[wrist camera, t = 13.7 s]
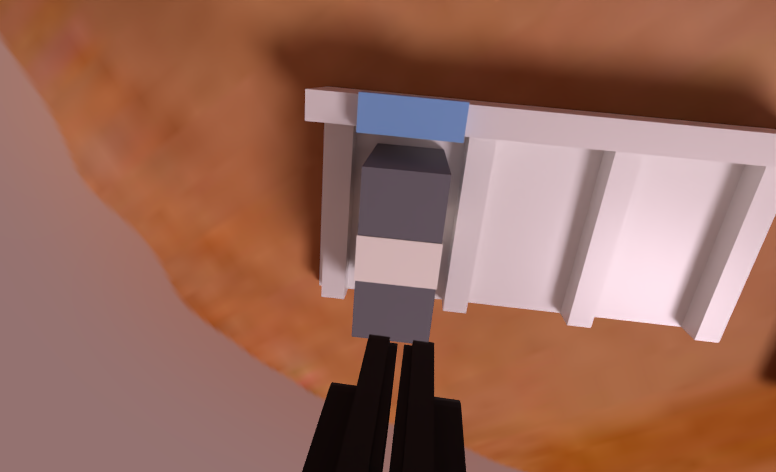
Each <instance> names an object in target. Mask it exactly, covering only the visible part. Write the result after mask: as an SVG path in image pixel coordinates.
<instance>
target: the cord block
mask: <svg viewBox="0 0 776 472" xmlns="http://www.w3.org/2000/svg"><path fill="white" fill-rule="evenodd" d="M450 182H451V172H450V168H449V165H448V161H447V158H446V154H445V151H444V149H435V148H424V147H414V146H403V145H392V144H382V143H377V145H376V146H375V148H374V149H373V151H372V152H371V154H370V155H369V157H368V158H367V160H366V161H365V162H364V164H363V165H362V172H361V189H360V206H359V223H358V233H357V237H356V254H355V272H354V281H355V291H354V308H353V325H352V337H361V338H369V335H370V334H372V335H380V336H387V337H390V341H396V342H405V343H413V340H417V341H425V342H429V335H430V327H431V320H432V313H433V306H434V298H435V291H436V290H437V285H438V278H439V270H440V263H441V256H442V249H443V233H444V226H445V218H446V211H447V204H448V196H449V189H450Z"/></svg>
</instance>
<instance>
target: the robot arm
mask: <svg viewBox="0 0 776 472" xmlns="http://www.w3.org/2000/svg"><path fill="white" fill-rule="evenodd" d="M396 354H397V344H396V343H390V337H387V336H380V335H372V334H370V335H369V338H368V342H367V346H366V350H365V354H364V358H363V362H362V366H361V371H360V375H359V379H358V383H357V386H354V385H347V384H340V383H333V382H332V383H331V385H330V388H329V391H328V394H327V397H326V400H325V403H324V406H323V409H322V412H321V415H320V418H319V422H318V424H317V428H316V431H315V434H314V437H313V440H312V443H311V446H310V449H309V452H308V455H307V459H306V461H305V464H304V467H303V471H302V472H382V471H383V463H384V455H385V448H386V440H387V432H388V424H389V415H390V406H391V398H392V389H393V380H394V371H395V362H396ZM389 472H466V464H465V451H464V438H463V425H462V412H461V403H460V400H454V399H446V398H439V397H434V343H432V342H425V341H417V340H413V344H412V346H411V345H404V351H403V359H402V367H401V376H400V384H399V392H398V400H397V409H396V417H395V425H394V434H393V443H392V453H391V461H390V471H389Z"/></svg>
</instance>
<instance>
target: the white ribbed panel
mask: <svg viewBox="0 0 776 472" xmlns="http://www.w3.org/2000/svg"><path fill="white" fill-rule="evenodd" d="M305 121H312V122H322V123H324V149H323V181H322V213H321V245H320V276H319V285H322V296H321V297H330V298H339V299H344V298H345V295H346V292H347V289H348V288H349V289H355V281H354V272H355V254H356V237H357V233H358V223H359V206H360V189H361V172H362V165H363V164H364V162H365V161H366V160H367V158H368V157H369V155H370V154H371V152H372V151H373V149H374V148H375V146H376V145H377V143H382V144H392V145H403V146H414V147H424V148H435V149H444V151H445V154H446V158H447V161H448V165H449V168H450V172H451V182H450V189H449V196H448V204H447V211H446V218H445V226H444V233H443V249H442V256H441V263H440V270H439V278H438V285H437V290H436V291H435V298H436V299H442V306H443V311H450V312H459V313H466V310H467V305H468V302H470V303H479V304H488V305H496V306H505V307H514V308H522V309H531V310H540V311H548V312H557V313H560V314H561V315H562V317H563V319H564V320H565V322H566V324H567V325H571V326H579V327H588V328H591V326H592V322H593V319H594V317H600V318H609V319H618V320H627V321H635V322H644V323H653V324H661V325H670V326H679V327H682V328H683V329H684V330H685V331H686V332H687V333H688V334H689V335H690V336H691V337H692V338H693V339H694V340H700V341H708V342H717V343H719V341H720V339H721V337H722V334H723V332H724V330H725V328H726V325H727V323H728V321H729V319H730V316H731V314H732V312H733V310H734V307H735V305H736V303H737V300H738V298H739V296H740V294H741V291H742V289H743V287H744V285H745V282H746V280H747V278H748V276H749V273H750V271H751V269H752V266H753V264H754V262H755V260H756V257H757V255H758V253H759V251H760V248H761V246H762V244H763V242H764V239H765V237H766V235H767V232H768V230H769V228H770V226H771V223H772V221H773V219H774V217H775V214H776V129H769V128H759V127H748V126H738V125H727V124H717V123H706V122H696V121H685V120H675V119H664V118H654V117H643V116H633V115H622V114H612V113H601V112H591V111H580V110H570V109H559V108H549V107H538V106H528V105H517V104H507V103H496V102H486V101H475V100H465V99H454V98H444V97H433V96H423V95H412V94H402V93H392V92H381V91H371V90H360V89H350V88H339V87H329V86H326V87H317V88H308V89H305Z"/></svg>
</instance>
